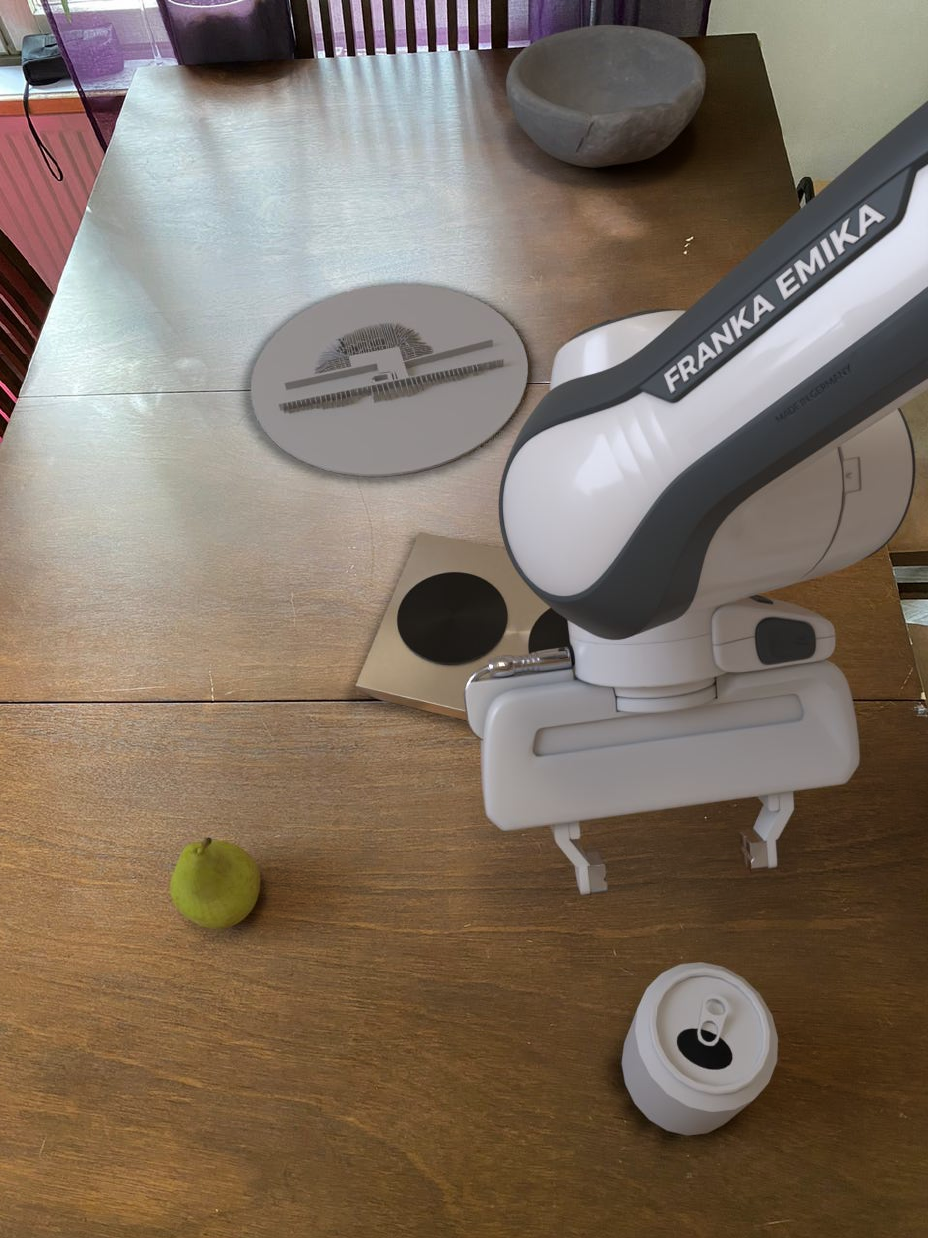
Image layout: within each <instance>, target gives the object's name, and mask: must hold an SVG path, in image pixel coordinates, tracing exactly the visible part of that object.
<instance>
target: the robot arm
mask: <svg viewBox="0 0 928 1238" xmlns="http://www.w3.org/2000/svg"><path fill="white" fill-rule="evenodd" d="M551 369H552V370H551V377H550V382H549V383H550V384H549V391H548V392H547V393H546V394H544V396H543V397H542V398H541V400H540V401H539V402H538V403H537V404H536V406H535V407H534V409H533V410H532V412H531V413H530V414H529V416H528V418H527V419H526V421H525V422H524V424H523V425H522V427H521V429H520V430H519V432H518V435H517V437H516V439H515V441H514V443H513V445H512V447H511V449H510V451H509V455H508V457H507V460H506V463H505V465H504V469H503V472H502V475H501V479H500V485H499V491H498V521H499V528H500V533H501V537H502V541H503V545H504V549H506V551H507V553H508V556H509V558H510V560H511V562H512V564H513V566H514V568H515V569H516V571H517V572H518V574H519V575H520V577H521V578H522V579H523V580H524V582H525V583H526V584H527V585H528V586H529V588H530V589H531V590H532V591H533V592H534V593H535V594H536V595H537V596H538V597H539V598H540V599H541V600H542V601H543V602H545V603H546V604H547V605H548V606H549V607H551V608H552V609H553V610H554V611H556V612H557V613H558V614H560V615H561V616H563V617H564V618H565V619H567V620H568V629H569V637H570V645H569V646H567V647H560V648H555V649H548V650H541V651H536V652H533V653H531V654H530V653H529V654H526V655H521V656H520V655H517V656H512V655H503V656H498V657H494V658H491V659H489V660H488V665H486V666H483V667H481V668H479V669H478V670H476V671H475V672H474V673H473V674H472V675H471V676H470V678H469V679H468V681H467V683H466V685H465V688H464V703H465V711H466V718H467V721H466V723H467V726H468V728H469V729H470V731H471V732H472V734H473V735H474V736H476V737H477V738H478V739H479V740H480V776H481V777H480V778H481V790H482V798H483V806H484V812H485V816H486V817H487V819H488V820H489V821H490V822H491V823H493V825H494V826H496V827H498V828H499V829H500V830H501V831H503V832H513V831H519V830H526V829H527V830H528V829H533V828H540V827H541V828H542V827H549V826H550V830H551V833H552V835H553V839H554V841H555V843H556V845H557V846H558V848H560V849H561V851H562V852H563V853H564V854H565V856H566V857H567V858H568V860H569V861H570V862H571V863H572V864H573V866H574V872H575V879H576V883H577V888H578V890H579V893H580V896H585V895H591V894H596V893H597V894H598V893H603V892H607V891H608V882H607V879H606V876H607V871H606V864H605V861H604V859H602V855H601V852H600V851H599V850H596V851H587V852H585V851H584V849H583V848H582V847H581V845H580V844H579V843H578V841H577V840H579V839H580V838H581V837H582V836H581V826H580V822H583V821H590V820H598V819H604V818H612V817H619V816H626V815H635V814H641V813H642V814H643V813H648V812H656V811H662V810H669V809H676V808H683V807H684V808H685V807H690V806H691V807H692V806H697V805H705V804H711V803H712V804H713V803H719V802H727V801H733V800H740V799H747V798H753V797H754V798H755V797H756V798H757V799H758V800H759V801H760V802H761V803H762V807H761V809H760V810H759V813H758V816H757V817H756V820H755V822H754V824H753V827H752V828H750V829H744V830H739V831H738V832H739V843H740V844H741V845H742V846H741V848H740V855H741V860H742V862H743V864H744V865H745V866H746V867H747V870H749V872H752V871H759V870H760V871H761V870H765V869H766V870H767V869H773V868H777V867H778V852H777V840H779V838H780V836H781V834H782V832H783V831H784V830H785V827H786V825H787V824H788V822H789V820H790V818H791V816H792V815H793V812H794V810H795V799H794V798H795V797H794V792H798V791H805V790H812V789H819V788H827V787H828V788H829V787H835V786H841V785H845V784H847V783H848V781H849V780H850V779H851V778H852V776H853V774H854V773H855V772H856V770H857V769H858V768H859V765H860V760H861V755H860V754H861V753H860V751H861V750H860V738H859V730H858V724H857V723H858V722H857V715H856V710H855V705H854V701H853V696H852V691H851V687H850V684H849V681H848V679H847V677H846V675H845V674H844V672H843V671H842V670H841V668H839V666H837V665H836V664H835V663H834V662H832V661H830V660H828V658H830V657H831V656H832V655H833V653H834V652H835V649H836V641H837V639H836V629H835V627H834V624H833V623H832V622H831V621H830V620H829V619H827V618H826V617H824V616H823V615H821V614H819V613H817V612H816V611H813V610H811V609H809V608H806V607H803V606H801V605H799V604H795V603H793V602H788V601H784V600H781V599H777V598H772V597H767V596H766V597H765V596H763V595H761V594H765V593H768V592H771V591H772V592H773V591H775V590H779V589H783V588H785V587H788V586H792V585H795V584H798V583H803V582H807V581H811V580H814V579H818V578H821V577H824V576H827V575H831V574H834V573H837V572H839V571H842V570H844V569H846V568H847V569H848V568H849V567H851V566H854V565H855V564H857V563H859V562H861V561H863V560H866V559H867V558H869V557H871V556H873V555H875V554H876V553H878V552H879V551H881V550H882V549H883V548H884V547H886V545H887V544H888V543H889V542H890V541H891V540H892V539H893V538H894V536H895V535H896V534H897V532H898V531H899V529H900V528H901V526H902V524H903V522H904V520H905V518H906V516H907V513H908V511H909V508H910V505H911V502H912V499H913V494H914V489H915V484H916V471H917V470H916V451H915V445H914V439H913V436H912V432H911V429H910V427H909V423H908V421H907V419H906V417H905V415H904V413H903V411H902V410H901V407H903V406H904V405H906V404H907V403H909V402H911V401H912V400H913V399H915V398H917V397H918V396H920V395H921V394H923V393H925V392H926V391H927V390H928V100H927V101H926V102H924V103H923V104H922V105H920V106H919V107H917V109H915V110H914V111H913V112H912V113H910V114H909V115H908V116H906V118H904V119H902V121H901V122H900V123H898V124H897V125H896V126H895V127H893V128H892V129H891V130H890V131H889V132H888V133H886V134H885V135H884V136H883V137H882V138H880V139H879V140H878V141H877V142H876V143H874V144H873V145H872V146H871V147H869V149H867V150H866V151H865V152H864V153H863V154H861V155H860V156H859V157H858V158H857V159H856V160H855V161H853V163H851V164H850V165H849V166H848V167H846V169H844V170H843V171H842V172H841V173H840V174H839V175H837V176H836V177H834V179H833V180H832V181H830V182H829V183H828V184H827V185H826V186H825V187H824V188H822V189H821V190H820V191H819V192H818V193H817V194H816V195H815V196H814V197H813V198H811V199H810V200H809V201H808V202H807V203H806V204H805V205H804V206H802V207H801V208H800V209H798V211H796V213H794V214H793V215H792V216H791V217H790V218H789V219H788V220H786V222H784V223H783V224H782V225H781V226H780V227H778V228H777V230H775V231H774V232H773V233H772V234H771V235H770V236H769V237H767V238H766V239H765V240H764V241H763V242H762V243H761V244H759V246H757V247H756V248H755V249H754V250H753V251H751V253H750V254H748V255H747V256H746V257H745V258H744V259H743V260H741V261H740V263H738V264H737V265H736V266H735V267H734V268H733V269H731V270H730V271H729V272H728V273H727V274H726V275H724V277H722V278H721V279H720V280H719V281H718V282H717V283H715V285H714V286H712V287H711V288H710V289H709V290H708V291H707V292H706V293H705V294H703V295H701V297H700V298H699V299H698V300H696V302H694V303H693V304H692V305H691V306H690V307H689V308H688V309H680V308H679V309H678V308H655V309H648V310H642V311H637V312H631V313H628V314H627V315H624V316H619V317H617V318H613V319H607V320H604V321H602V322H599V323H597V324H594V325H592V326H590V327H587V328H586V329H584V330H582V331H580V332H578V333H576V334H575V335H574V336H573V337H571V338H569V340H568V341H567V342H566V343H565V344H563V346H561V347H560V348H559V350H558V351H557V353H556V354H555V357H554V360H553V365H552V368H551ZM572 666H573V669H572V668H571V667H572ZM523 672H524V673H523ZM486 673H489V675H490V677H489V678H481V679H479V678H480V677H481V676H482V675H484V674H486Z"/></svg>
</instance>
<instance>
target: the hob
mask: <svg viewBox="0 0 928 1238" xmlns="http://www.w3.org/2000/svg"><path fill="white" fill-rule="evenodd" d="M389 601H390V602H389V604H388V606H387V609H386V611H385V613H384V615H383V618H382V620H381V623H380V625H379V627H378V630H377V632H376V635H375V638H374V639H373V642H372V645H371V647H370V650H369V651H368V654H367V655H366V659H365V661H364V663H363V666H362V668H361V671H360V673H359V676H358V678H357V681H356V683H355V688H356V692H357V695H358V696H361V697H362V696H363V697H366V698H371V699H375V700H379V701H383V702H387V703H391V704H394V705H395V704H396V705H400V706H404V707H408V708H412V709H417V710H421V711H425V712H429V713H433V714H438V715H442V716H445V717H449V718H454V719H457V720H461V721H462V720H463V721H466V722H467V718H466V711H465V703H464V688H465V685H466V683H467V681H468V679H469V678H470V676H471V675H472V674H473V673H474V672H475V671H476V670H478V669H479V668H481V667H483V666H486V665H488V660H489V659H491V658H494V657H498V656H503V655H512V656H517V655H520V656H521V655H526V654H529V653H530V654H531V653H533V652H536V651H541V650H548V649H555V648H560V647H567V646H569V645H570V637H569V629H568V620H567V619H565V618H564V617H563V616H561V615H560V614H558V613H557V612H556V611H554V610H553V609H552V608H551V607H549V606H548V605H547V604H546V603H545V602H543V601H542V600H541V599H540V598H539V597H538V596H537V595H536V594H535V593H534V592H533V591H532V590H531V589H530V588H529V586H528V585H527V584H526V583H525V582H524V580H523V579H522V578H521V577H520V575H519V574H518V572H517V571H516V569H515V568H514V566H513V564H512V562H511V560H510V558H509V556H508V553H507V551H506V548H503V547H497V546H492V545H487V544H483V543H477V542H472V541H467V540H462V539H457V538H452V537H447V536H442V535H437V534H431V533H426V532H421V531H419V532H418V534H417V537H416V539H415V542H414V544H413V547H412V549H411V551H410V553H409V556H408V558H407V561H406V563H405V565H404V568H403V570H402V572H401V575H400V578H399V580H398V582H397V583H396V587H395V590H394V591H393V594H392V597H391V599H390V600H389ZM571 668H572V669H573V666H572V667H571ZM523 673H524V672H523ZM489 677H490V675H489V673H486V674H484V675H482V676H481V677H480V678H479V679H481V678H489Z"/></svg>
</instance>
